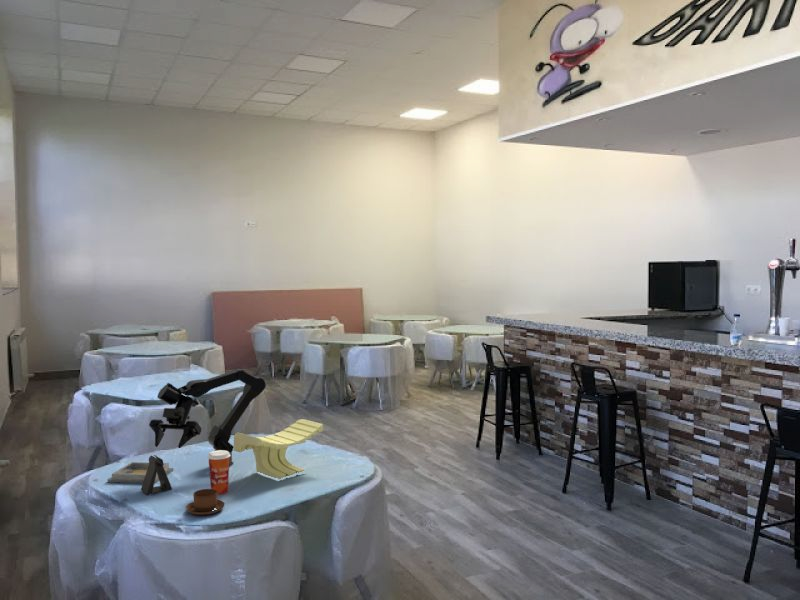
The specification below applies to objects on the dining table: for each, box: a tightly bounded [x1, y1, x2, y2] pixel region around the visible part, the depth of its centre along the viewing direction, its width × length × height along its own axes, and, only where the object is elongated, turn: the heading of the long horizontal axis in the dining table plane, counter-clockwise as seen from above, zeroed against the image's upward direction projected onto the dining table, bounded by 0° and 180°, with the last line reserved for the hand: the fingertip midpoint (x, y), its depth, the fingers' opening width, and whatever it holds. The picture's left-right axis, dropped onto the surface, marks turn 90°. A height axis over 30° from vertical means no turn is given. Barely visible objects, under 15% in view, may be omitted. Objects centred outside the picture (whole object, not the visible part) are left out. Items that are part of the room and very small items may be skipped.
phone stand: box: [140, 454, 173, 496], centre depth 237 cm, size 9×6×12 cm, turn 130°
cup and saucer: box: [185, 488, 226, 516], centre depth 218 cm, size 12×12×6 cm
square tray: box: [106, 461, 174, 485], centre depth 253 cm, size 18×16×3 cm
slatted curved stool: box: [233, 418, 324, 479], centre depth 257 cm, size 30×16×18 cm, turn 136°
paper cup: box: [207, 450, 231, 496], centre depth 236 cm, size 8×8×14 cm
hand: (167, 447), depth 245 cm, fingers open, 9 cm apart
